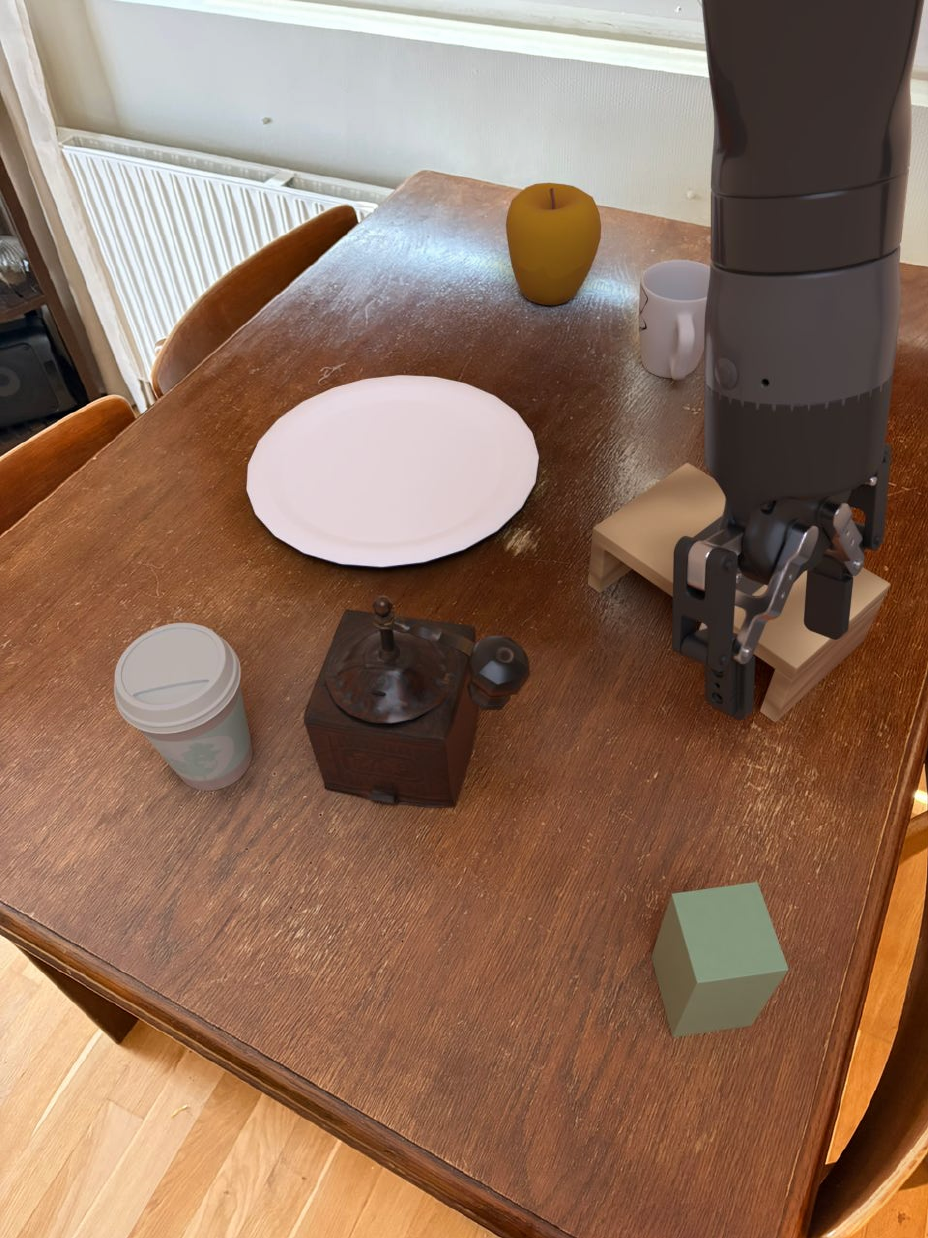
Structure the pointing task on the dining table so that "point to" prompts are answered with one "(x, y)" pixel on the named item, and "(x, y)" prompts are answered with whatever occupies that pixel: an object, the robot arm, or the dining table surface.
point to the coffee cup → (187, 702)
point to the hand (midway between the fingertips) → (779, 669)
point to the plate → (392, 471)
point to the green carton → (716, 959)
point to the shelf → (785, 644)
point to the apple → (552, 240)
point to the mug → (673, 317)
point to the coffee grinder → (406, 704)
